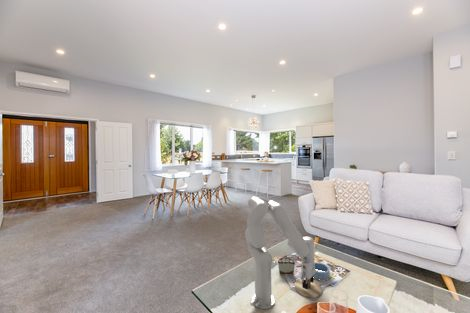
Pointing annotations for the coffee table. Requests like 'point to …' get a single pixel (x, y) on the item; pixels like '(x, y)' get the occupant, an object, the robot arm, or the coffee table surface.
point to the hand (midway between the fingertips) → (308, 284)
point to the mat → (307, 297)
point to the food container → (286, 265)
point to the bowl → (321, 275)
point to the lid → (311, 292)
